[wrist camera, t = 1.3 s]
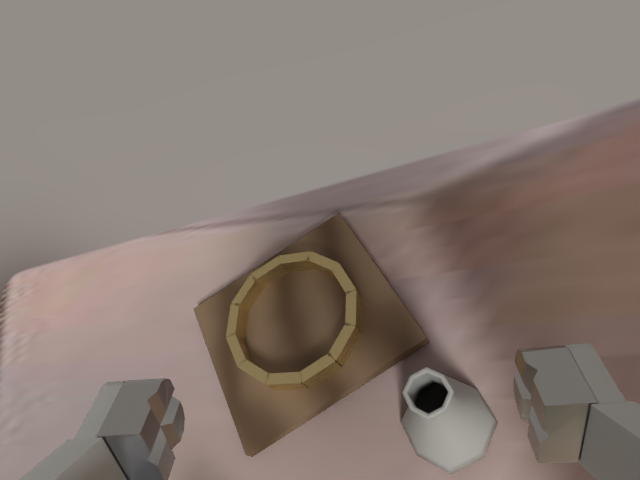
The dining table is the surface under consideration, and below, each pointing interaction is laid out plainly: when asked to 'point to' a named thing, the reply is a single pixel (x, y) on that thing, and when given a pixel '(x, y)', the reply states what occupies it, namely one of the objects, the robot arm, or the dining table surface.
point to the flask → (446, 420)
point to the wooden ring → (250, 295)
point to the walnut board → (306, 336)
